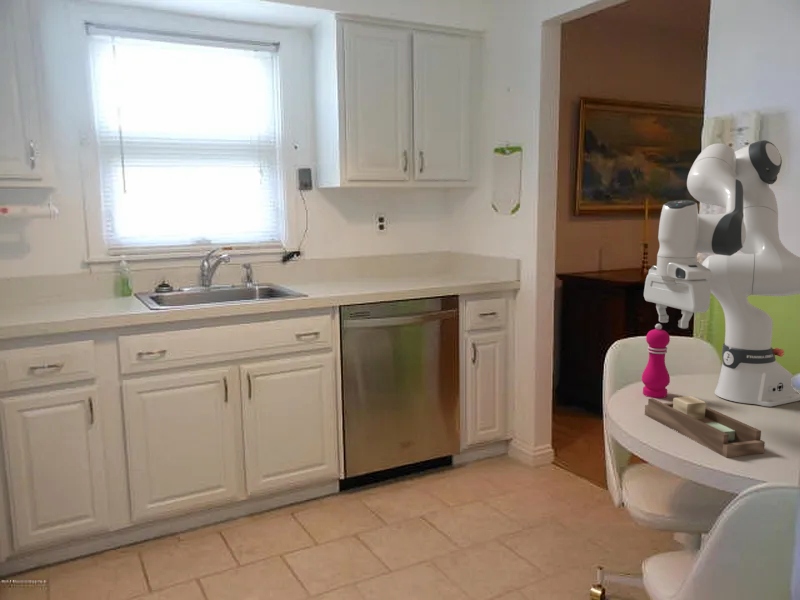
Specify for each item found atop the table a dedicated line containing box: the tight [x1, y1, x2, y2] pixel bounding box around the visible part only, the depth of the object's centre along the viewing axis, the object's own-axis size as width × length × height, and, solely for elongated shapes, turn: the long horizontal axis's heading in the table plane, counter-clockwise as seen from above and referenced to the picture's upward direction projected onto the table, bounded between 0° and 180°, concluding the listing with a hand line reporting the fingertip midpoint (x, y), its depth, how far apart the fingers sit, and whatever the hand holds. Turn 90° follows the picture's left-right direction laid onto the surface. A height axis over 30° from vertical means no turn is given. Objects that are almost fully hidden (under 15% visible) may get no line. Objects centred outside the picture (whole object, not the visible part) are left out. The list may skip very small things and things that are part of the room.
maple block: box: [672, 395, 707, 420], centre depth 155 cm, size 5×5×4 cm
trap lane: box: [644, 395, 766, 458], centre depth 151 cm, size 9×28×4 cm, turn 14°
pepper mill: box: [641, 323, 671, 399], centre depth 179 cm, size 7×7×20 cm
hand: (673, 325), depth 159 cm, fingers open, 6 cm apart
